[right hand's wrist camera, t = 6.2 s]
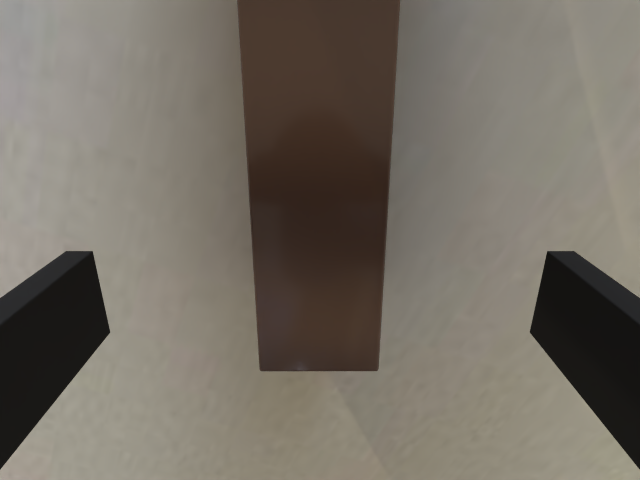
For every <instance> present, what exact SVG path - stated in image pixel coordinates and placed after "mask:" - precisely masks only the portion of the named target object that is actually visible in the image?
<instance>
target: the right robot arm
mask: <svg viewBox="0 0 640 480" xmlns="http://www.w3.org/2000/svg"><path fill="white" fill-rule="evenodd" d="M109 333H110V329H109V325H108V320H107V315H106V311H105V306H104V302H103V297H102V292H101V288H100V283H99V279H98V274H97V269H96V265H95V260H94V255H93V251H66V252H64V253H63V254H62V255H60V256H59V257H57V258H56V259H55V260H53V261H52V262H50V263H49V264H48V265H46V266H45V267H43V268H42V269H41V270H39V271H38V272H36V273H35V274H33V275H32V276H31V277H29V278H28V279H26V280H25V281H24V282H22V283H21V284H19V285H18V286H17V287H15V288H14V289H12V290H11V291H10V292H8V293H7V294H5V295H4V296H3V297H1V298H0V469H1V468H2V467H3V465H4V464H5V463H6V462H7V460H8V459H9V458H10V457H11V455H12V454H13V453H14V452H15V450H16V449H17V448H18V447H19V445H20V444H21V443H22V442H23V440H24V439H25V438H26V437H27V435H28V434H29V433H30V432H31V430H32V429H33V428H34V427H35V425H36V424H37V423H38V422H39V420H40V419H41V418H42V417H43V415H44V414H45V413H46V412H47V410H48V409H49V408H50V407H51V405H52V404H53V403H54V402H55V400H56V399H57V398H58V397H59V396H60V394H61V393H62V392H63V391H64V389H65V388H66V387H67V386H68V384H69V383H70V382H71V381H72V379H73V378H74V377H75V376H76V374H77V373H78V372H79V371H80V369H81V368H82V367H83V366H84V364H85V363H86V362H87V361H88V359H89V358H90V357H91V356H92V354H93V353H94V352H95V351H96V349H97V348H98V347H99V346H100V344H101V343H102V342H103V341H104V339H105V338H106V337H107V336H108V334H109ZM530 333H531V334H532V336H533V337H534V338H535V339H536V341H537V342H538V343H539V344H540V346H541V347H542V348H543V349H544V351H545V352H546V353H547V354H548V356H549V357H550V358H551V359H552V361H553V362H554V363H555V364H556V366H557V367H558V368H559V369H560V371H561V372H562V373H563V374H564V376H565V377H566V378H567V379H568V381H569V382H570V383H571V384H572V386H573V387H574V388H575V389H576V391H577V392H578V393H579V394H580V396H581V397H582V398H583V399H584V400H585V402H586V403H587V404H588V405H589V407H590V408H591V409H592V410H593V412H594V413H595V414H596V415H597V417H598V418H599V419H600V420H601V422H602V423H603V424H604V425H605V427H606V428H607V429H608V430H609V432H610V433H611V434H612V435H613V437H614V438H615V439H616V440H617V442H618V443H619V444H620V445H621V447H622V448H623V449H624V450H625V452H626V453H627V454H628V455H629V457H630V458H631V459H632V460H633V462H634V463H635V464H636V465H637V467H638V468H639V469H640V298H639V297H637V296H636V295H635V294H633V293H632V292H630V291H629V290H628V289H626V288H625V287H623V286H622V285H621V284H619V283H618V282H616V281H615V280H614V279H612V278H611V277H609V276H608V275H607V274H605V273H604V272H602V271H601V270H599V269H598V268H597V267H595V266H594V265H592V264H591V263H590V262H588V261H587V260H585V259H584V258H583V257H581V256H580V255H578V254H577V253H576V252H574V251H547V255H546V260H545V265H544V269H543V274H542V279H541V283H540V288H539V292H538V297H537V302H536V306H535V311H534V315H533V320H532V325H531V329H530Z"/></svg>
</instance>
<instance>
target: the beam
mask: <svg viewBox="0 0 640 480" xmlns="http://www.w3.org/2000/svg"><path fill="white" fill-rule="evenodd" d="M237 4H238V21H239V37H240V54H241V70H242V87H243V103H244V120H245V136H246V152H247V169H248V185H249V202H250V218H251V235H252V251H253V268H254V284H255V301H256V317H257V334H258V350H259V367H260V371H378V368H379V351H380V334H381V317H382V300H383V283H384V266H385V249H386V232H387V216H388V199H389V182H390V165H391V148H392V131H393V114H394V97H395V80H396V63H397V46H398V29H399V12H400V0H237Z"/></svg>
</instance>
